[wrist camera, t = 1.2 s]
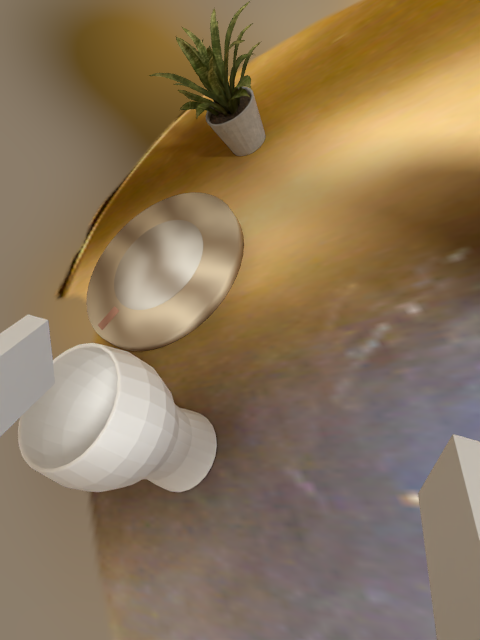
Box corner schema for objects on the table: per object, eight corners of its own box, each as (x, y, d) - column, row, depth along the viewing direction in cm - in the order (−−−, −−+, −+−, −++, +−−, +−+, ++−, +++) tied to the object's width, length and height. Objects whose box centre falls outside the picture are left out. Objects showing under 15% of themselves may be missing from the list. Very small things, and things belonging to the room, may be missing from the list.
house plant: (322, 102, 57) (277, -31, 44) (274, 181, 54) (211, 62, 41) (243, 105, 66) (186, -5, 53) (197, 173, 62) (125, 73, 50)
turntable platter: (175, 183, 60) (169, 174, 59) (281, 232, 46) (275, 223, 45) (71, 299, 58) (62, 293, 57) (149, 387, 44) (139, 382, 43)
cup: (133, 513, 41) (-6, 489, 29) (144, 407, 46) (31, 352, 35) (231, 504, 37) (115, 473, 25) (230, 389, 42) (135, 321, 31)
